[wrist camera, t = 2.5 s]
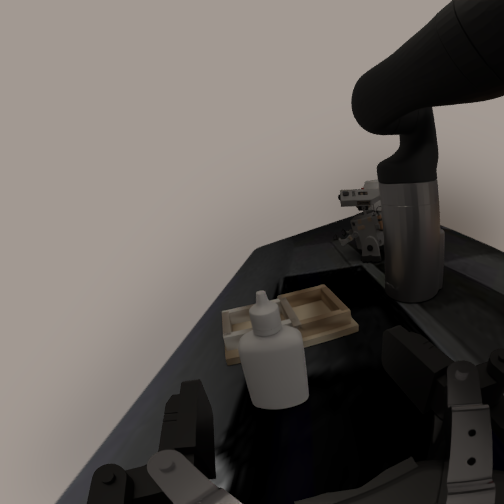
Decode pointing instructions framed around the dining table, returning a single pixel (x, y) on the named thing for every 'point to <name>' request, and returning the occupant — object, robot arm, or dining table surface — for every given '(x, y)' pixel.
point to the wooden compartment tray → (294, 319)
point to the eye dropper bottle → (273, 358)
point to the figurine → (364, 223)
